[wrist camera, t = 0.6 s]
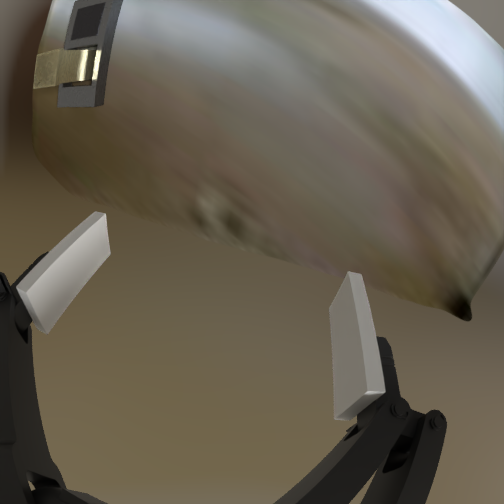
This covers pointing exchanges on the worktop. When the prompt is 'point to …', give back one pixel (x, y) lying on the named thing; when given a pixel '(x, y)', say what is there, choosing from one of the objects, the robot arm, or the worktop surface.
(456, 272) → the worktop surface
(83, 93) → the grey flat piece
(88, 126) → the worktop surface
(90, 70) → the tan block
